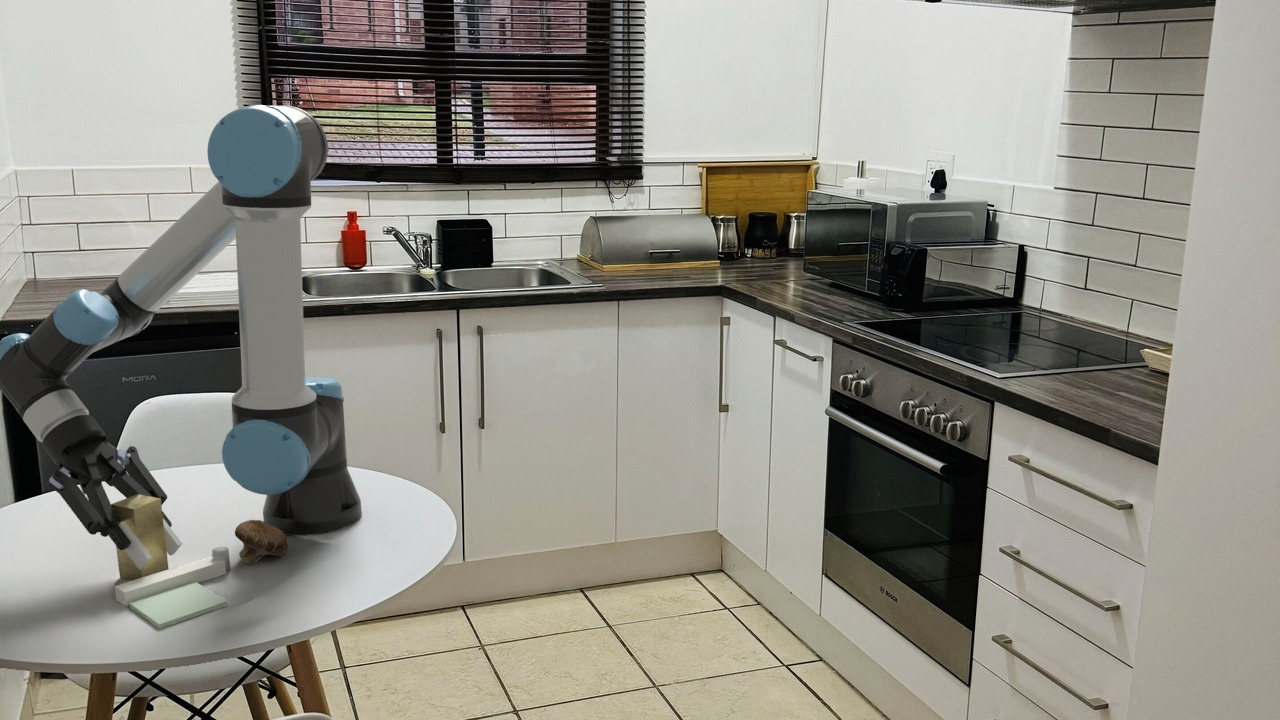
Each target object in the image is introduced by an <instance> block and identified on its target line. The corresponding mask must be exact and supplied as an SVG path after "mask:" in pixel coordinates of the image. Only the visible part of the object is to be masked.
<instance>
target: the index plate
mask: <svg viewBox="0 0 1280 720" xmlns="http://www.w3.org/2000/svg"><path fill="white" fill-rule="evenodd" d="M227 606H228V601H227V600H226V599H224V598H223V597H221V596H219V595H218V594H216V593H214V592H212V591H211V590H210V589H208V588H206V587H205V586H203V585H201V584H200V583H197V582H193V583H190V584H187V585H184V586H181V587H178V588H175V589H172V590H169V591H166V592H162V593H159V594H156V595H153V596H150V597H147V598H144V599H141V600H138V601H135V602H132V603H130V605H129V608H130V609H132V610H133V611H135V612H136V613H137V614H138V615H140V616H141V617H143V618H144V619H145V620H147V621H148V622H150V623H151V624H153V626H155V627H156V628H157V629H163V628H165V627H169V626H172V625H174V624H179V623H181V622H183V621H186V620H189V619H191V618H196V617H198V616H200V615H203V614H206V613H209V612H213V611H215V610H218V609H220V608H224V607H227Z"/></svg>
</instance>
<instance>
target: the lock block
mask: <svg viewBox="0 0 1280 720" xmlns="http://www.w3.org/2000/svg"><path fill="white" fill-rule="evenodd" d="M111 506H112V508H113V510H114V512H115V515H116V517H117V519H118V525H119V523H120V522H123V521H125V522H126V523H127V524H128V526H129V527H130V528H131V530H132V531H133V532H134V534H135V535H136V536H137V538H138V539H139V540H140V542H141V543H142V544H143V546H144V547H145V548H146V550H147V551H148V552H149V554H150V555H151V556H152V558H151V559H150V561H149V562H148V563H147V564H146V566H145V567H144V568H142V569H140V570H139V569H138V567H137V566H136V565H135V563H134V562H133V561H132V559H131V558H130V557H129V555H128V554H127V553H126V551H125V550H122V551H121V550H120V549H118V548H117V546H116V545H115V548H116V558H117V565H118V571H119V572H118V573H119V579H123V580H126V581H129V582H130V581H133V580H136V579H139V578H142V577H146V576H149V575H152V574H155V573H158V572H162V571H165V570H168V569H170V568H169V559H168V553H167V551H166V543H165V534H164V524H163V515H162V511H163V508H162V506H163V505H162V506H161V499H160V498H155V497H150V496H145V495H140V494H137V495H134V496H132V497H129V498H126V497H125V498H124V499H121V500H118V501H116V502H113V503H111Z"/></svg>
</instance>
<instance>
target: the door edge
mask: <svg viewBox="0 0 1280 720" xmlns="http://www.w3.org/2000/svg"><path fill="white" fill-rule="evenodd" d="M211 553H212V554H211V556H207V557H204V558H200V559H198V560H194V561H192V562H188V563H187V562H186V563H185V564H181V565H179V566H175V567H172V568H169V569H168V570H165V571H162V572H158V573H155V574H152V575H149V576H146V577H142V578H139V579H136V580H133V581H130V580H129V581H127V582H123V583H120V584H117V585H115V586H114V590H115V591H114V592H115V598H116V601H117V602H119V603H120V604H121V605H123V606H124V607H128V606H129V607H130V603H132V602H135V601H138V600H141V599H144V598H147V597H150V596H153V595H156V594H159V593H162V592H166V591H169V590H172V589H175V588H178V587H181V586H184V585H187V584H190V583H193V582H197V583H198V584H200V583H203V582H205V581H209V580H212V579H215V578H218V577H222V576H224V575H227V573H229V572H230V571H231V560H230V550H229V547H228V546H217V547H214V548H213V549H211Z"/></svg>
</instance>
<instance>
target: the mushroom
mask: <svg viewBox="0 0 1280 720" xmlns="http://www.w3.org/2000/svg"><path fill="white" fill-rule="evenodd" d="M234 536H235V537H236V538H237V539H238V540H239V541H240V542H242V544H243V547H242V549H241V550H240V551H239V552H238V556H239V558H240V559H242V560H243V561H244V562H246V563H247V564H249V565H253V564H255V563H256V562H257V561H259V559H261V558H262V557H263V556H265V555H271V556H272V555H273V556H277V557H282V556H285V555H286V554H287V553H288V549H289V541H288V538H287V536H286V535H285V534H284V532H283V531H281V530H280V529H279V528H277V527H275V526H272V525H270V524H268V523H265V522H264V520H263V521H262V520H260V519H249V520H245V521H243V522H241V523H239V524H238V525H237V526H236V527H235V530H234Z"/></svg>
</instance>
